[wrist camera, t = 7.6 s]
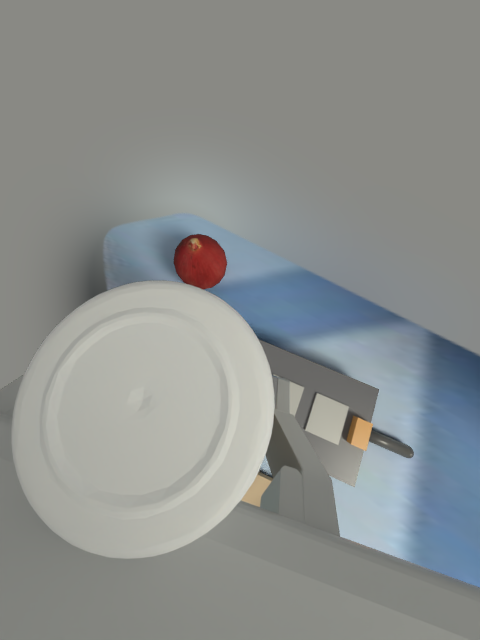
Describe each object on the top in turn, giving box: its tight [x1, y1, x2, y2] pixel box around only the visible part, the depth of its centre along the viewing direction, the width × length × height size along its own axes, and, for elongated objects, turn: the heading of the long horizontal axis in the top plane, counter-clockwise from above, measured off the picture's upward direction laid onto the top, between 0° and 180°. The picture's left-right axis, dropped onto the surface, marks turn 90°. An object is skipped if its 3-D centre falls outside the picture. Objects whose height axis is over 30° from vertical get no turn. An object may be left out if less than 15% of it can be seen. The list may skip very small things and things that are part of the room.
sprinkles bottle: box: [11, 281, 275, 559], centre depth 10 cm, size 5×5×14 cm
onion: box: [174, 234, 227, 289], centre depth 23 cm, size 6×6×8 cm
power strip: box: [258, 339, 414, 487], centre depth 21 cm, size 27×9×4 cm, turn 67°
